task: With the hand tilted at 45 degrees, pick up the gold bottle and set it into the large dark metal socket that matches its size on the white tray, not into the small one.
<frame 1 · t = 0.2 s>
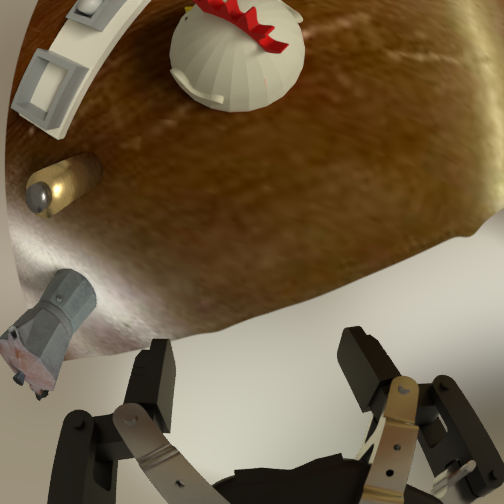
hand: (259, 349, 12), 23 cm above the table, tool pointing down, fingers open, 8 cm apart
moka pot: (76, 292, 37), on the table
white tray: (81, 49, 20), on the table
kitchen timer: (237, 55, 24), on the table
gold bottle: (87, 170, 28), on the table
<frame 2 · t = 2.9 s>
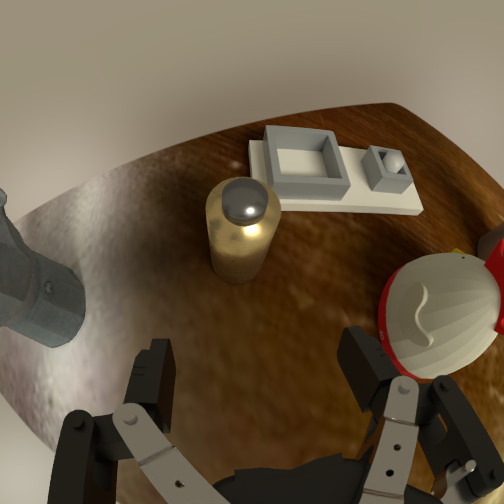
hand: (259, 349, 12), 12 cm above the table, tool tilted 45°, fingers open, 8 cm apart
moka pot: (53, 309, 22), on the table
white tray: (339, 180, 31), on the table
kitchen timer: (423, 319, 26), on the table
gold bottle: (236, 260, 26), on the table
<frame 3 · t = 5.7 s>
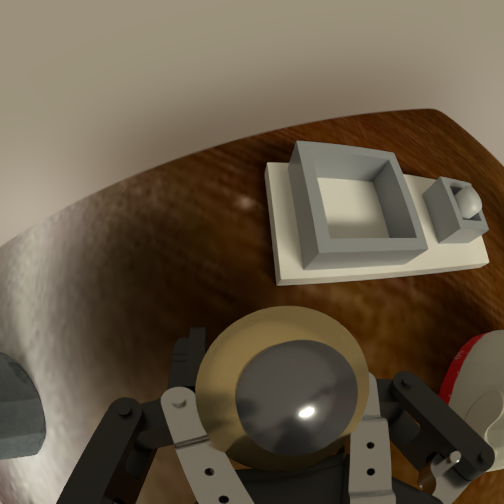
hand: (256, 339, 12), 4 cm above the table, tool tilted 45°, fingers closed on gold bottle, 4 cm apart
moka pot: (9, 408, 12), on the table
white tray: (396, 225, 21), on the table
kitchen timer: (477, 403, 15), on the table
gold bottle: (251, 372, 16), on the table, touching gripper
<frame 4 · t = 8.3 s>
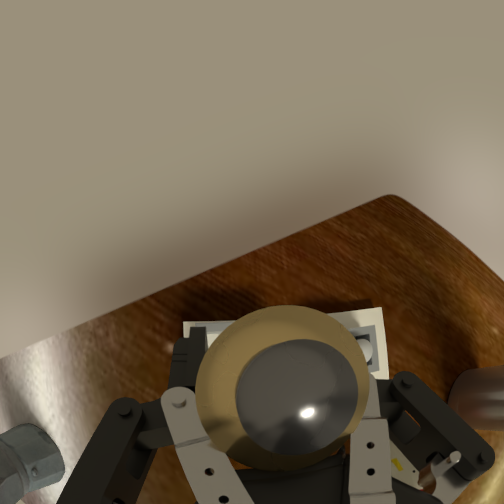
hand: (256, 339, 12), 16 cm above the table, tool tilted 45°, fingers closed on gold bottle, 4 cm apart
moka pot: (39, 454, 18), on the table
white tray: (291, 359, 27), on the table
kitchen timer: (360, 480, 22), on the table
gold bottle: (251, 371, 16), point 12 cm above the table, touching gripper
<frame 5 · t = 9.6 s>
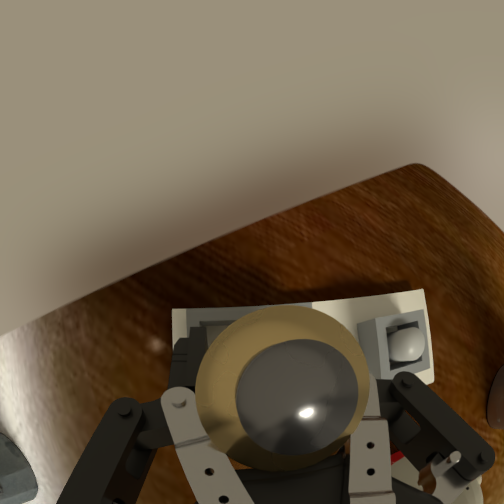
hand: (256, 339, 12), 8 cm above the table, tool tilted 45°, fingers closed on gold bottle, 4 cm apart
moka pot: (11, 467, 11), on the table
white tray: (317, 359, 20), on the table
kitchen timer: (394, 500, 15), on the table
gold bottle: (251, 371, 16), point 4 cm above the table, touching gripper
when the fingers open (7 cm above the table, at t = 10.7 s): gold bottle drops 1 cm, resting on white tray.
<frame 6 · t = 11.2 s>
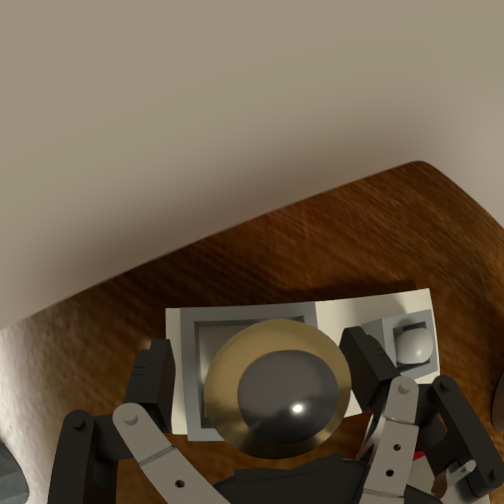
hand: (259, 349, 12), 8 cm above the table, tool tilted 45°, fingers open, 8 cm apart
moka pot: (2, 470, 10), on the table
white tray: (320, 362, 19), on the table
gold bottle: (251, 372, 17), point 2 cm above the table, touching white tray
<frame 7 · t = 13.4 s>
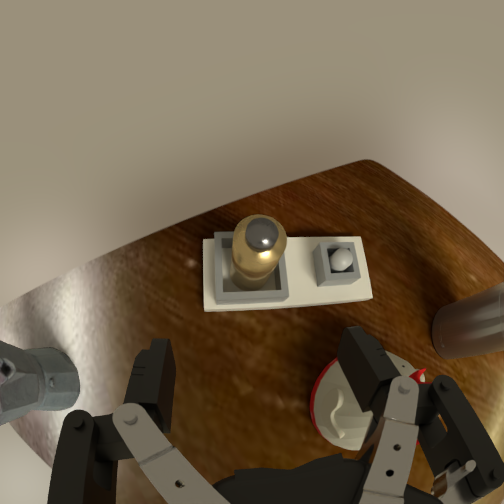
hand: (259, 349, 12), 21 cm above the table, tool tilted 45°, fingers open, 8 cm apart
moka pot: (55, 381, 26), on the table
white tray: (289, 273, 35), on the table
kitchen timer: (357, 398, 30), on the table
gold bottle: (249, 272, 33), point 2 cm above the table, touching white tray
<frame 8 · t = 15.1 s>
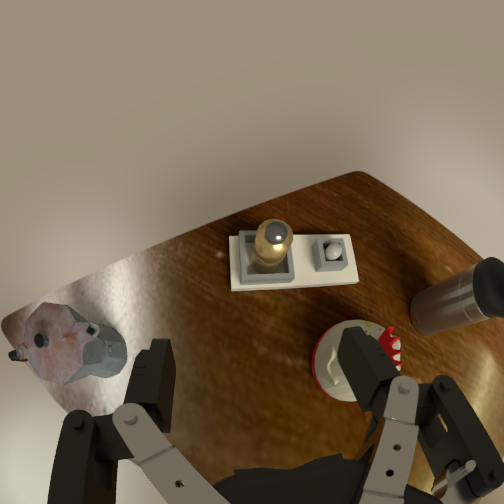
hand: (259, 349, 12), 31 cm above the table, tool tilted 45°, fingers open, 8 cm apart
moka pot: (103, 353, 38), on the table
white tray: (294, 262, 47), on the table
kitchen timer: (349, 360, 41), on the table
gold bottle: (264, 261, 45), point 2 cm above the table, touching white tray
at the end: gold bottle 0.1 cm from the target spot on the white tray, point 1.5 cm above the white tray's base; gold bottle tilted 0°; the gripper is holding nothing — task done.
